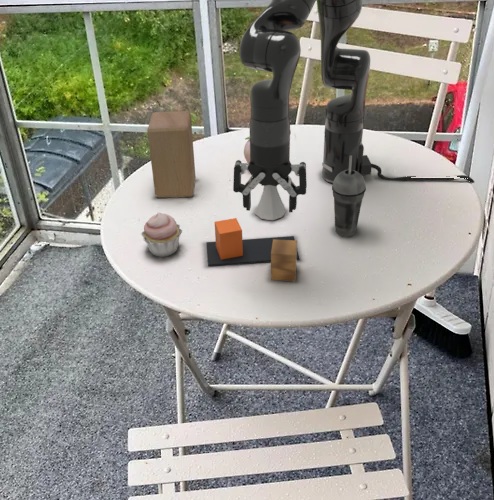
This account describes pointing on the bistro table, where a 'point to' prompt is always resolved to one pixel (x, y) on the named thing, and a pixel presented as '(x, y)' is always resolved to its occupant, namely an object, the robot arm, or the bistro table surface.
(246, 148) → the decorative fruit
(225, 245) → the orange block
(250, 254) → the mat
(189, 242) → the bistro table surface
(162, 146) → the wooden block
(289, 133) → the robot arm
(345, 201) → the beverage cup
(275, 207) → the flask
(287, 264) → the oak block
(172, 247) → the cupcake
